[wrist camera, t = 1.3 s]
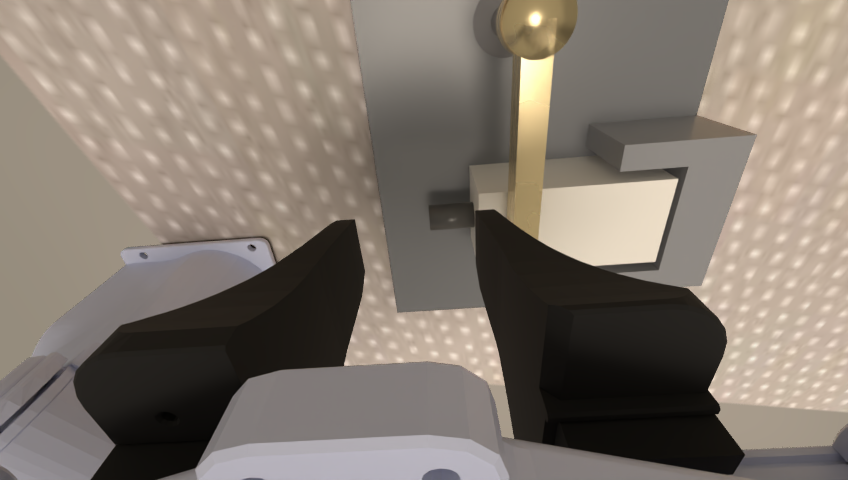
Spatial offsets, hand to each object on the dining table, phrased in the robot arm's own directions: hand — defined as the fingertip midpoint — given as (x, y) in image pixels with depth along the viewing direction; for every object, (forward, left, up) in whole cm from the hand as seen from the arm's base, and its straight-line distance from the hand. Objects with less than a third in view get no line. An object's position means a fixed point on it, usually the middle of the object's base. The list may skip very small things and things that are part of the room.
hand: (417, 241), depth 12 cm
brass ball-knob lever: (+4, +1, -5) cm, 7 cm away
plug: (+6, -3, -9) cm, 11 cm away
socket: (+6, -1, -10) cm, 12 cm away
